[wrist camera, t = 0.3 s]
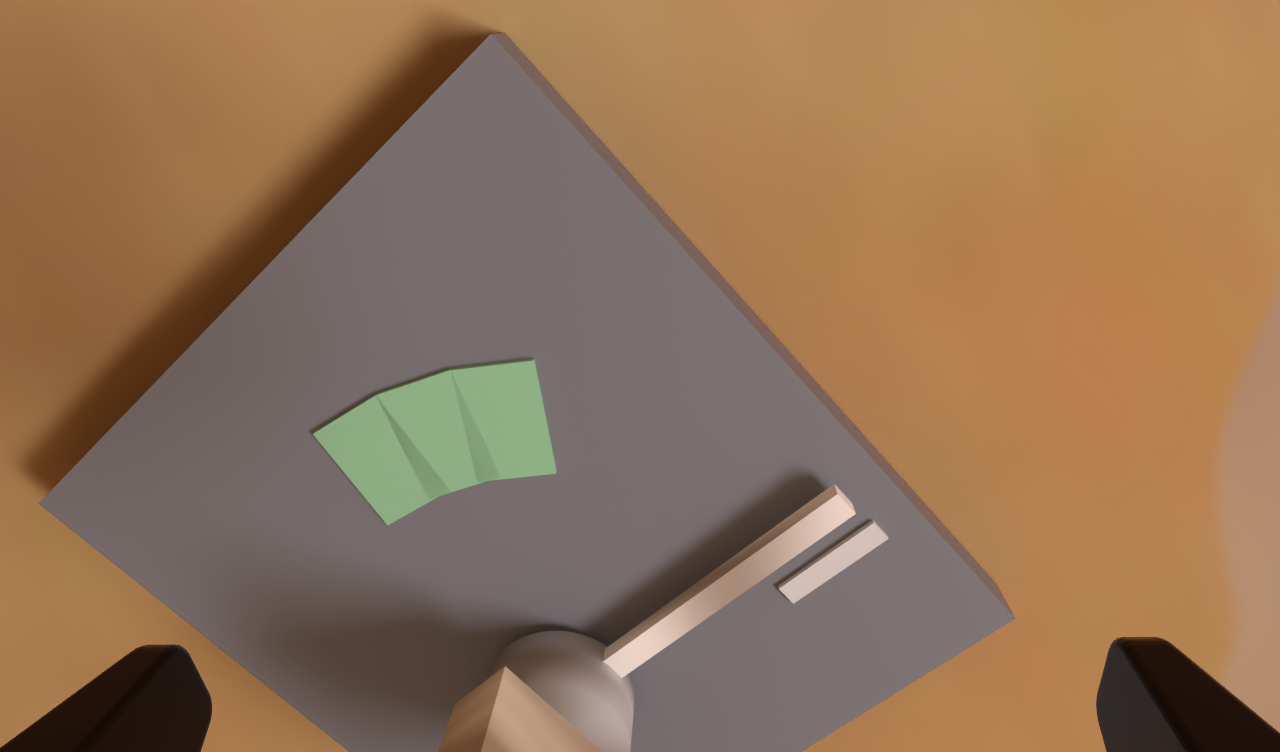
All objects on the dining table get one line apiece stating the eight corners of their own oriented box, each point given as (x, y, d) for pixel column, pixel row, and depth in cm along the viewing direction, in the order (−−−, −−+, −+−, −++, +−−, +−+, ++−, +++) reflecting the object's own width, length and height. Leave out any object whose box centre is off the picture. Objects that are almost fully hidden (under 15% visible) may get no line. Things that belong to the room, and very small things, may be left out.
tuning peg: (572, 781, 26) (532, 1041, 19) (444, 672, 24) (355, 910, 18) (904, 557, 22) (992, 779, 16) (776, 419, 21) (815, 597, 15)
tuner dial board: (553, 867, 29) (546, 914, 28) (74, 476, 25) (34, 506, 23) (996, 584, 24) (1017, 621, 23) (504, 32, 20) (489, 33, 18)
